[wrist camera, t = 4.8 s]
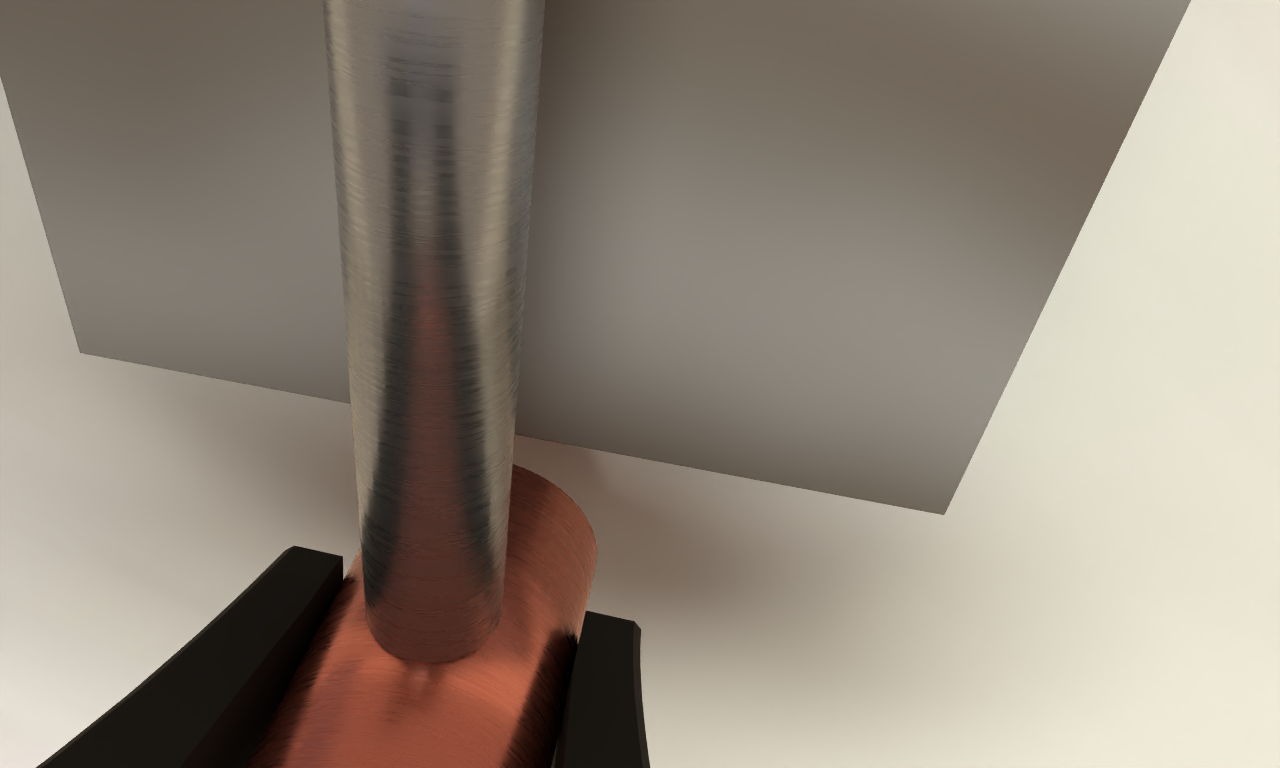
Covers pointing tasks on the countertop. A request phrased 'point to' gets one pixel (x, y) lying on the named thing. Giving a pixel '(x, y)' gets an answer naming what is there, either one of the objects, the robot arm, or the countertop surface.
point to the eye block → (621, 211)
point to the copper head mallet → (438, 410)
